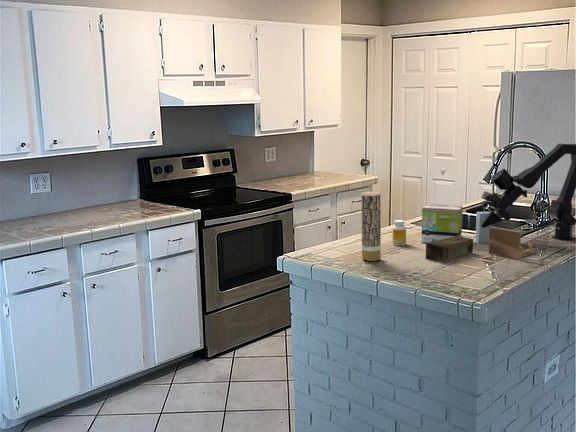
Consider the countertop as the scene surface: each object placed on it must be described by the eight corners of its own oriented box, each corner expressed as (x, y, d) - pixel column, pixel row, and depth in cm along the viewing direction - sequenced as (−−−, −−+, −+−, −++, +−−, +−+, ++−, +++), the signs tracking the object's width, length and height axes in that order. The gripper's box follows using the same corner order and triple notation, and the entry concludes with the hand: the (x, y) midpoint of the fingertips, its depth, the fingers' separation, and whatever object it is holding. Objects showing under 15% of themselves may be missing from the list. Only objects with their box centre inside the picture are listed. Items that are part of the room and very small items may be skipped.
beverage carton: (474, 254, 230) (474, 236, 229) (441, 263, 219) (442, 246, 218) (456, 250, 237) (457, 233, 235) (424, 259, 225) (424, 242, 224)
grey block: (487, 240, 249) (488, 211, 247) (491, 242, 246) (492, 213, 243) (475, 240, 249) (476, 212, 247) (478, 243, 245) (479, 213, 243)
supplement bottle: (405, 246, 245) (406, 222, 243) (392, 245, 246) (392, 222, 244) (406, 242, 250) (406, 219, 248) (392, 242, 251) (392, 219, 249)
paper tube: (369, 263, 222) (368, 195, 217) (358, 259, 228) (357, 192, 223) (384, 260, 225) (384, 193, 220) (373, 256, 231) (373, 191, 226)
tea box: (421, 243, 249) (421, 207, 246) (425, 237, 258) (425, 203, 255) (459, 245, 243) (459, 208, 240) (462, 239, 252) (462, 204, 249)
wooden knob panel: (508, 247, 237) (509, 222, 235) (537, 253, 228) (538, 226, 226) (488, 253, 230) (489, 227, 228) (517, 259, 220) (518, 232, 218)
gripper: (486, 181, 252) (459, 208, 254) (504, 187, 234) (474, 217, 236) (504, 199, 254) (477, 226, 256) (523, 207, 236) (494, 236, 237)
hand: (480, 225), depth 246 cm, fingers closed on grey block, 4 cm apart
